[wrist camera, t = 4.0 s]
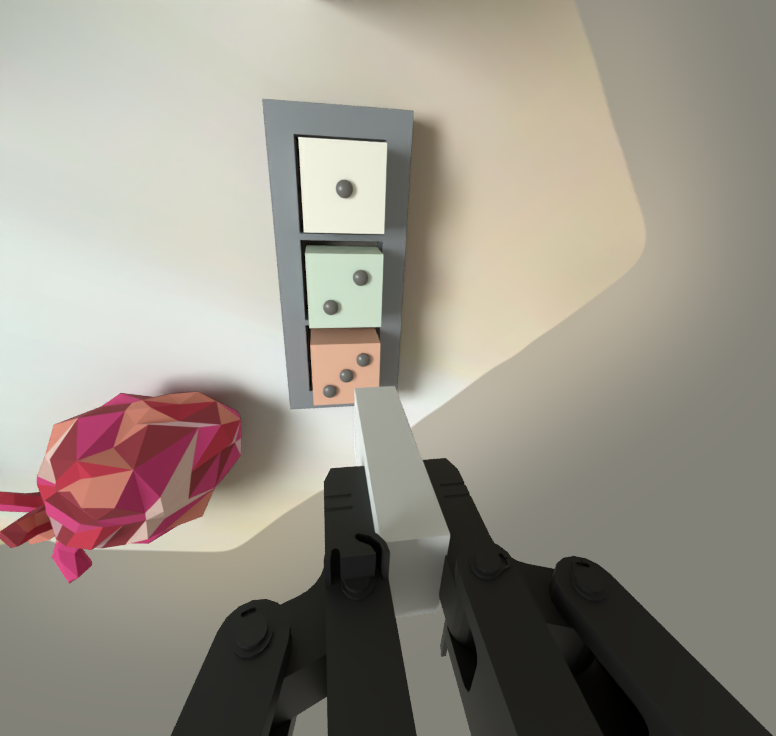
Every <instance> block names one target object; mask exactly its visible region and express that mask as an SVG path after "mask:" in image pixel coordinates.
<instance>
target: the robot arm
mask: <svg viewBox="0 0 776 736" xmlns="http://www.w3.org/2000/svg"><path fill="white" fill-rule="evenodd" d="M354 448H355V456H356V463H357V466H355V467H342V468H331V469H330V471H329V473H328V475H327V477H326V479H325V481H324V510H325V511H324V515H325V556H324V569H323V571H322V574H321V576H320V577H319V579H318V580H317V582H316V583H315V584H314V585H313V586H312V587H311V588H310V589H309V590H308V591H306V592H304V593H303V594H301V595H299V596H298V597H296V598H294V599H291V600H289V601H287V602H285V603H283V604H281V605H280V604H278V603H277V602H274V601H271V600H267V599H261V600H252V601H250V602H248V603H246V604H243V605H241V606H239V607H238V608H237V609H236V610H234V611H233V612H232V613H231V614H230V615H229V616H228V617H227V618H226V619H225V621H224V622H223V624H222V625H221V627H220V628H219V630H218V632H217V634H216V636H215V638H214V641H213V643H212V645H211V647H210V649H209V652H208V654H207V656H206V658H205V661H204V663H203V665H202V667H201V670H200V672H199V674H198V676H197V678H196V681H195V683H194V685H193V687H192V690H191V692H190V694H189V696H188V698H187V701H186V703H185V705H184V707H183V710H182V712H181V714H180V716H179V718H178V721H177V723H176V726H175V727H174V730H173V732H172V734H171V736H292V734H293V730H294V726H295V721H296V716H297V715H298V714H299V713H301V712H303V711H305V710H306V709H307V708H309V707H311V706H312V705H314V704H316V703H317V702H319V701H320V700H322V699H324V698H325V697H327V716H328V736H417V735H416V729H415V724H414V718H413V712H412V707H411V701H410V696H409V690H408V684H407V679H406V673H405V668H404V662H403V657H402V651H401V645H400V640H399V634H398V629H397V623H396V618H400V617H407V616H414V615H420V614H426V613H433V612H438V606H439V600H440V601H441V604H442V608H443V611H444V615H445V623H444V629H443V635H442V640H441V645H440V646H441V656H446V652H447V648H448V652H449V655H450V659H451V663H452V666H453V670H454V674H455V677H456V681H457V685H458V688H459V692H460V696H461V699H462V703H463V706H464V710H465V714H466V718H467V721H468V725H469V729H470V732H471V736H772V734H770V733H769V731H767V730H766V729H765V728H764V727H763V726H762V725H761V724H760V723H759V722H758V721H757V720H756V719H755V718H754V717H753V716H752V715H751V714H750V713H749V712H748V711H747V710H746V709H745V708H744V707H743V706H742V705H741V704H740V703H739V702H738V701H737V700H736V699H735V698H734V697H733V696H732V695H731V694H730V693H729V692H728V691H727V690H726V689H725V688H724V687H723V686H722V685H721V684H720V683H719V682H718V681H717V680H716V679H715V678H714V677H713V676H712V675H711V674H710V673H709V672H708V671H707V670H706V669H705V668H704V667H703V666H702V665H701V664H700V663H699V662H698V661H697V660H696V659H695V658H694V657H693V656H692V655H691V654H690V653H689V652H688V651H687V650H686V649H685V648H684V647H683V646H682V645H681V644H680V643H679V642H678V641H677V640H676V639H675V638H674V637H673V636H672V635H671V634H670V633H669V632H668V631H667V630H666V629H665V628H664V627H663V626H662V625H661V624H660V623H659V622H658V621H657V620H656V619H655V618H654V617H653V616H651V614H650V613H649V612H648V611H647V610H646V609H645V608H644V607H643V606H642V605H641V604H640V603H639V602H638V601H637V600H636V599H635V598H634V597H633V596H632V595H631V594H630V593H629V592H628V591H627V590H626V589H625V588H624V587H623V586H622V585H621V584H619V582H618V581H617V580H616V579H615V578H614V577H613V576H612V575H611V574H610V573H608V572H607V571H606V570H605V569H603V568H602V567H601V566H600V565H598V564H596V563H594V562H592V561H590V560H588V559H586V558H581V557H576V556H571V557H565V558H563V559H561V560H560V561H559V562H558V563H557V564H556V567H555V569H552V568H547V567H541V566H536V565H531V564H526V563H523V562H519V561H517V560H515V559H513V558H511V556H510V555H509V553H508V552H507V551H505V550H504V549H503V548H501V547H500V546H499V545H497V544H495V543H494V542H493V540H492V538H491V537H490V535H489V533H488V530H487V528H486V527H485V524H484V522H483V520H482V518H481V516H480V514H479V512H478V510H477V508H476V506H475V504H474V502H473V499H472V498H471V496H470V495H469V491H468V489H467V487H466V485H464V481H463V479H462V477H461V475H460V473H459V471H458V469H457V468H456V467H455V466H454V465H453V464H452V463H450V461H448V460H447V459H446V458H441V459H429V460H422V457H421V455H420V452H419V449H418V447H417V444H416V441H415V439H414V436H413V433H412V431H411V428H410V425H409V423H408V420H407V417H406V414H405V412H404V409H403V406H402V404H401V401H400V398H399V396H398V393H397V390H396V388H395V386H388V387H365V388H355V412H354Z"/></svg>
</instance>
